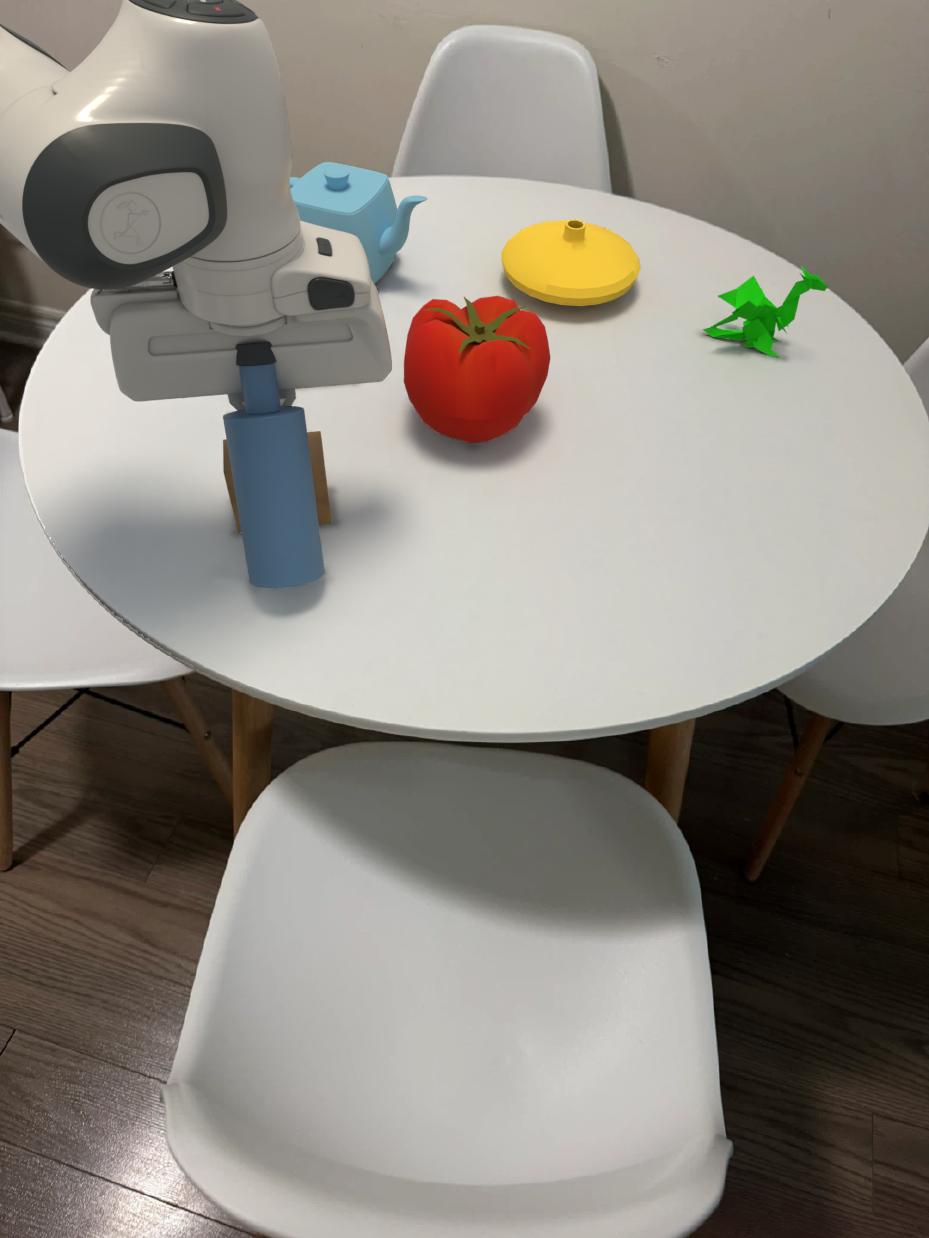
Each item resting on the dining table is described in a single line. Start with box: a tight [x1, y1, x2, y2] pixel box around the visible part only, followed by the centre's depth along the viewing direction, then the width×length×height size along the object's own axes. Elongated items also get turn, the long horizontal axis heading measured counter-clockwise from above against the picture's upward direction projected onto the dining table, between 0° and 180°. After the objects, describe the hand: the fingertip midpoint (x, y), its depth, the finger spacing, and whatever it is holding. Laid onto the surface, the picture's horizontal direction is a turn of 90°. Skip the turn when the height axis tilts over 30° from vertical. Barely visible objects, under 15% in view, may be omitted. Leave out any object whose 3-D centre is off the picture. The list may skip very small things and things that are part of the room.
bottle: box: [222, 342, 326, 590], centre depth 67 cm, size 6×13×18 cm, turn 10°
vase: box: [500, 218, 641, 307], centre depth 99 cm, size 16×16×7 cm
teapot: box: [290, 161, 428, 285], centre depth 97 cm, size 12×18×12 cm
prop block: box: [222, 430, 332, 534], centre depth 74 cm, size 8×4×7 cm, turn 100°
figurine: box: [702, 264, 829, 358], centre depth 92 cm, size 6×12×9 cm, turn 73°
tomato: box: [403, 295, 551, 444], centre depth 81 cm, size 13×14×12 cm
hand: (268, 427), depth 71 cm, fingers closed
